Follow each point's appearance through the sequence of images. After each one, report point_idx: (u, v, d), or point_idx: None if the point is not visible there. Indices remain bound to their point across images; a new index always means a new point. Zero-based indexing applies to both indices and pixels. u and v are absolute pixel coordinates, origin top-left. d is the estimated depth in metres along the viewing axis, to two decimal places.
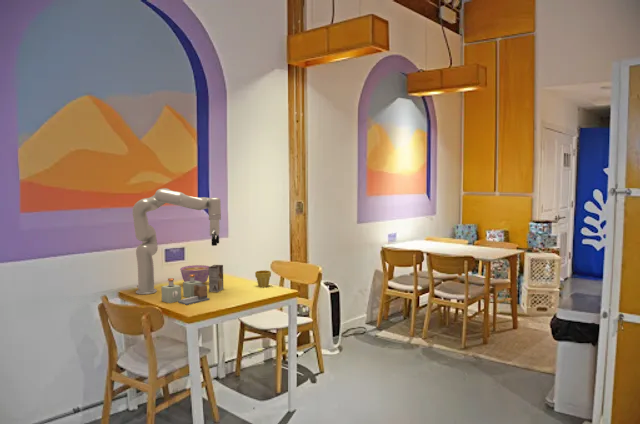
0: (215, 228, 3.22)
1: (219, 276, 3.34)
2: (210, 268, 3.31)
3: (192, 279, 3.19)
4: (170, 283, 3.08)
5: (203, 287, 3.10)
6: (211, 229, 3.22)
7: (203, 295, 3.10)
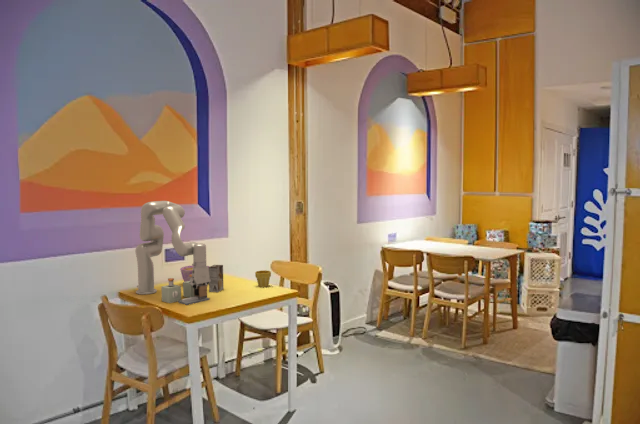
0: None
1: (219, 276, 3.34)
2: (210, 268, 3.31)
3: None
4: (170, 283, 3.08)
5: (203, 287, 3.10)
6: None
7: (203, 295, 3.10)
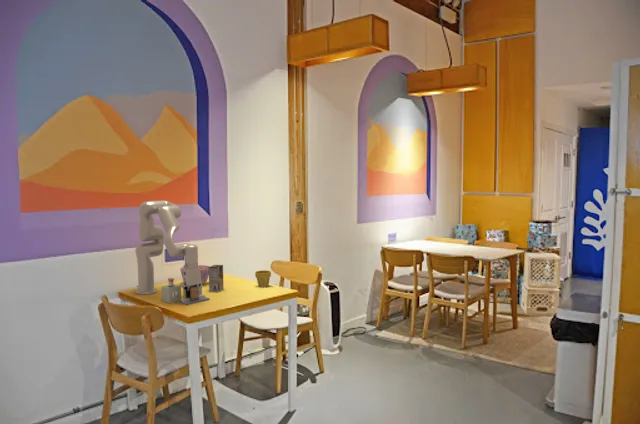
0: None
1: (219, 276, 3.34)
2: (210, 268, 3.31)
3: None
4: (170, 283, 3.08)
5: (195, 289, 3.06)
6: None
7: (195, 297, 3.06)
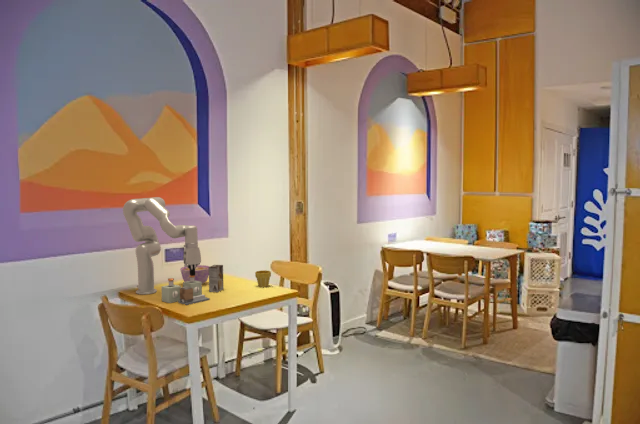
0: None
1: (219, 276, 3.34)
2: (210, 268, 3.31)
3: (192, 279, 3.19)
4: (170, 283, 3.08)
5: (189, 290, 3.03)
6: None
7: (189, 298, 3.03)
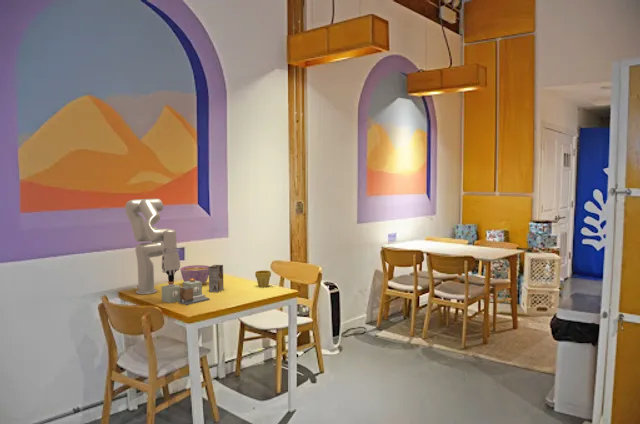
0: None
1: (219, 276, 3.34)
2: (210, 268, 3.31)
3: None
4: (170, 286, 3.08)
5: (189, 290, 3.03)
6: None
7: (189, 298, 3.03)
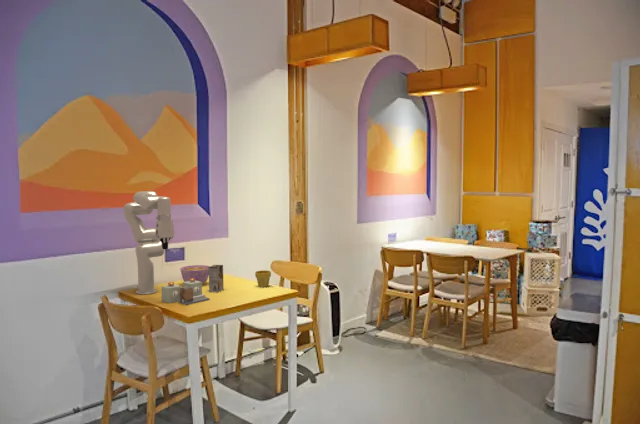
0: None
1: (219, 276, 3.34)
2: (210, 268, 3.31)
3: None
4: None
5: (189, 290, 3.03)
6: None
7: (189, 298, 3.03)
